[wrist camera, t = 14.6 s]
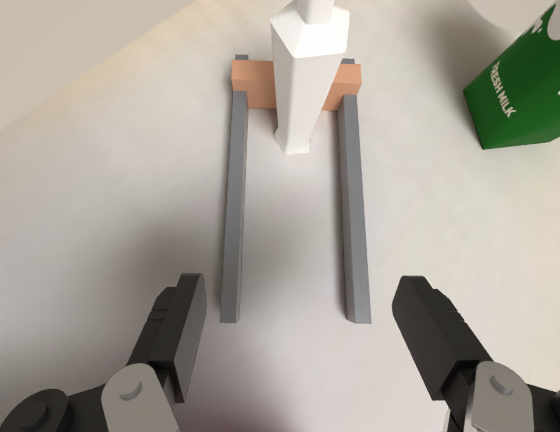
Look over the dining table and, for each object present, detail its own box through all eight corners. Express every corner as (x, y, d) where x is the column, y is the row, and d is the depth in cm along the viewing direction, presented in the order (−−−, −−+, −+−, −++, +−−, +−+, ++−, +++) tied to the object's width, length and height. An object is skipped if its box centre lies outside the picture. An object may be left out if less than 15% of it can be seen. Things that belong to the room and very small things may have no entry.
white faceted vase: (273, 114, 28) (277, -70, 14) (316, 120, 28) (367, -57, 14) (266, 155, 27) (263, 3, 13) (311, 162, 27) (360, 17, 13)
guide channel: (224, 318, 23) (215, 325, 19) (238, 73, 29) (233, 41, 25) (360, 319, 24) (378, 326, 20) (347, 77, 30) (359, 46, 26)
